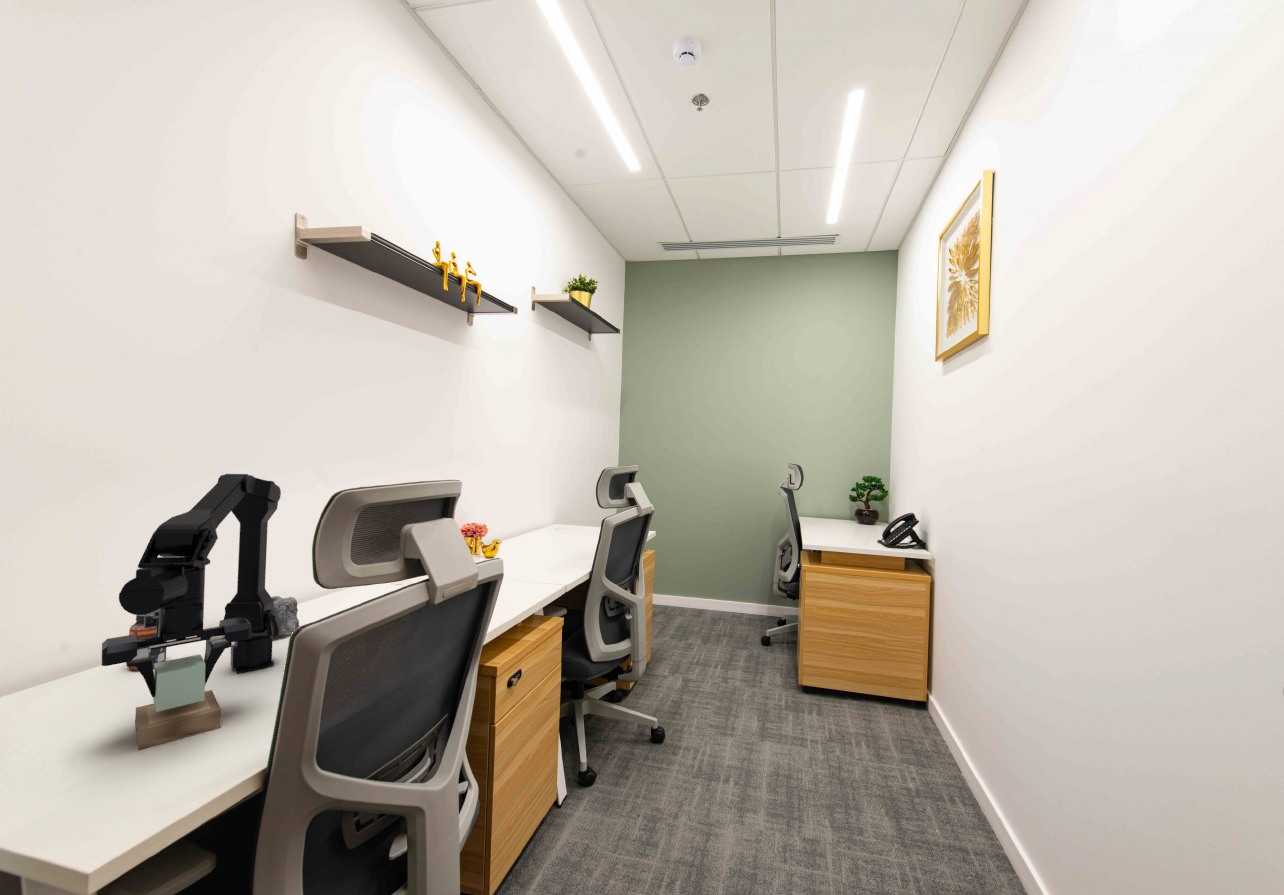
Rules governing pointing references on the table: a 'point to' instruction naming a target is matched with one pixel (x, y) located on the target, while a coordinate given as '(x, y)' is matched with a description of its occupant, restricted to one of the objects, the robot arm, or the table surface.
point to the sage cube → (179, 682)
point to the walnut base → (176, 721)
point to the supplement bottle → (143, 633)
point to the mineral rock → (286, 614)
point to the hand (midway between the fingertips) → (179, 690)
